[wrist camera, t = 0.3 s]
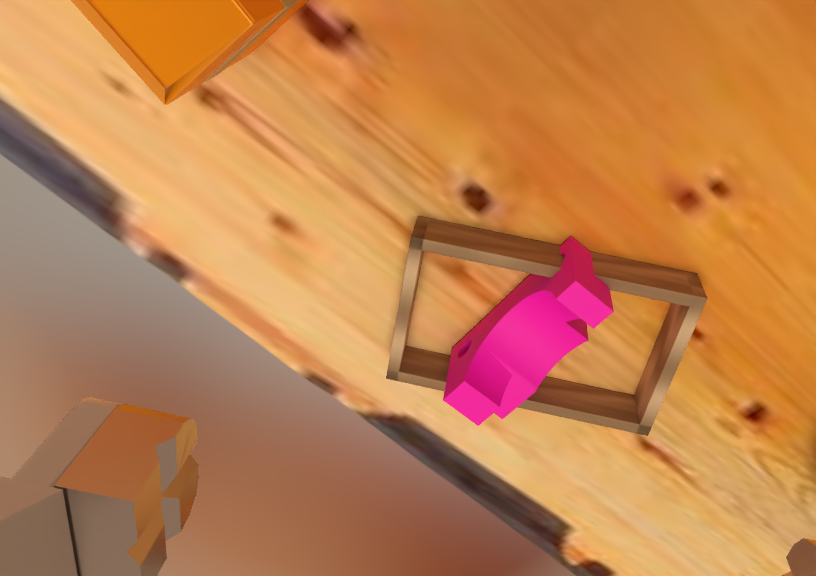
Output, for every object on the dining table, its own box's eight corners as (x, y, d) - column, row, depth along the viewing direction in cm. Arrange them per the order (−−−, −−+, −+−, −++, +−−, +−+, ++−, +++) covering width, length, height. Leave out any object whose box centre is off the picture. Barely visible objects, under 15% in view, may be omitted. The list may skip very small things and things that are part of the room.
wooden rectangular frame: (418, 215, 59) (411, 236, 56) (696, 273, 58) (707, 298, 55) (393, 352, 66) (386, 378, 63) (641, 406, 65) (647, 435, 62)
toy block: (503, 387, 66) (501, 442, 60) (451, 348, 65) (442, 400, 58) (626, 282, 59) (638, 331, 53) (570, 236, 58) (575, 280, 51)
